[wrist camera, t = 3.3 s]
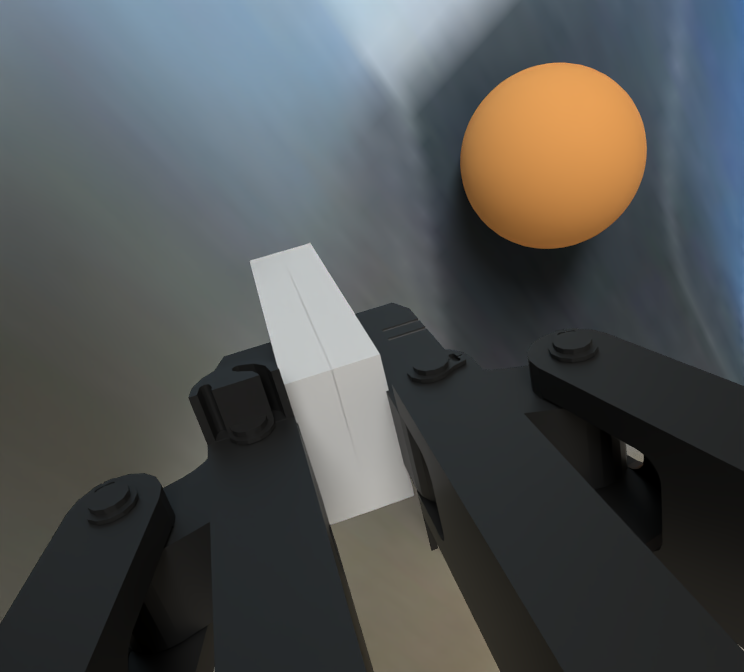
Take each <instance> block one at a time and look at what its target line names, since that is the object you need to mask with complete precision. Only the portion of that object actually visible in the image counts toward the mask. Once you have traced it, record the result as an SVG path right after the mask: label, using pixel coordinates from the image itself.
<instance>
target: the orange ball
mask: <svg viewBox="0 0 744 672" xmlns="http://www.w3.org/2000/svg"><path fill="white" fill-rule="evenodd" d="M646 152H647V146H646V135H645V130H644V125H643V122H642V119H641V116H640V114H639V112H638V110H637V108H636V106H635V104H634V103H633V101H632V99H631V98H630V97H629V95H628V94H627V93H626V92H625V91H624V90H623V89H622V88H621V87H620V86H619V85H618V84H617V83H616V82H615V81H614V80H612V79H611V78H609V77H608V76H607V75H605V74H603V73H601V72H599V71H597V70H594V69H592V68H589V67H586V66H583V65H578V64H571V63H549V64H543V65H537V66H534V67H531V68H528V69H525V70H523V71H520V72H518V73H516V74H514V75H512V76H510V77H509V78H507V79H506V80H504V81H503V82H502V83H500V84H499V85H498V86H497V87H496V88H494V89H493V90H492V91H491V92H490V93H489V94H488V95H487V96H486V98H485V99H484V100H483V101H482V102H481V103H480V105H479V106H478V108H477V109H476V111H475V112H474V114H473V116H472V118H471V120H470V122H469V124H468V127H467V129H466V132H465V135H464V139H463V142H462V148H461V159H460V167H461V176H462V181H463V186H464V189H465V192H466V195H467V198H468V200H469V202H470V204H471V206H472V207H473V209H474V210H475V212H476V213H477V215H478V216H479V217H480V219H481V220H482V221H483V222H484V223H485V224H486V225H487V226H488V227H489V228H490V229H492V230H493V231H494V232H496V233H497V234H498V235H500V236H501V237H503V238H505V239H507V240H509V241H511V242H514V243H517V244H520V245H522V246H527V247H532V248H539V249H553V248H562V247H567V246H571V245H575V244H578V243H580V242H583V241H585V240H588V239H590V238H592V237H594V236H596V235H597V234H599V233H600V232H602V231H603V230H605V229H606V228H607V227H608V226H610V225H611V224H612V223H613V222H614V221H615V220H616V219H617V218H618V217H619V216H620V215H621V214H622V213H623V212H624V211H625V209H626V208H627V207H628V205H629V204H630V202H631V201H632V199H633V197H634V196H635V194H636V192H637V190H638V188H639V185H640V182H641V180H642V177H643V173H644V169H645V163H646Z"/></svg>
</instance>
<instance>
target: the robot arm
mask: <svg viewBox="0 0 744 672" xmlns="http://www.w3.org/2000/svg"><path fill="white" fill-rule="evenodd" d="M250 264H251V268H252V272H253V276H254V279H255V283H256V287H257V291H258V295H259V298H260V302H261V306H262V310H263V314H264V317H265V321H266V325H267V329H268V333H269V336H270V340H271V342H270V343H266V344H263V345H260V346H257V347H253V348H250V349H247V350H244V351H241V352H237V353H234V354H231V355H228V356H224V357H223V359H222V360H221V362H220V363H219V365H218V366H217V368H216V369H215V371H214V372H212V373H210V374H209V375H207V376H205V377H204V378H202V379H201V380H200V381H199V382H198V383H197V384H196V385H195V386H194V387H193V388H192V390H191V392H190V395H189V397H188V398H189V400H190V403H191V405H192V408H193V410H194V413H195V415H196V417H197V420H198V422H199V425H200V427H201V430H202V432H203V435H204V437H205V440H206V442H207V444H208V459H207V460H206V461H205V462H204V463H203V464H202V465H200V466H199V467H198V468H197V469H196V470H194V471H193V472H191V473H189V474H188V475H186V476H185V477H183V478H181V479H179V480H178V481H176V482H174V483H172V484H170V485H168V486H166V487H165V488H163V487H162V485H161V484H160V482H159V481H158V479H157V478H156V477H155V476H151V475H148V474H145V473H141V474H128V475H125V476H122V477H118V478H113V479H110V480H108V481H106V482H104V484H100V485H98V486H96V487H95V488H93V489H92V490H91V491H90V492H88V493H87V494H86V495H85V496H83V497H82V498H81V499H79V500H78V501H77V502H76V503H75V505H74V506H73V507H72V508H71V509H70V511H69V512H68V513H67V514H66V516H65V517H64V519H63V521H62V522H61V524H60V526H59V527H58V529H57V531H56V532H55V534H54V536H53V537H52V539H51V541H50V542H49V544H48V546H47V547H46V549H45V551H44V552H43V554H42V556H41V557H40V559H39V561H38V562H37V564H36V566H35V567H34V569H33V571H32V572H31V574H30V576H29V577H28V579H27V581H26V582H25V584H24V586H23V587H22V589H21V590H20V592H19V594H18V595H17V597H16V599H15V600H14V602H13V604H12V605H11V607H10V609H9V610H8V612H7V614H6V615H5V617H4V619H3V620H2V622H1V624H0V672H213V671H214V667H215V672H374V671H373V668H372V664H371V661H370V657H369V654H368V651H367V647H366V644H365V640H364V637H363V634H362V630H361V627H360V623H359V620H358V617H357V613H356V610H355V606H354V603H353V599H352V596H351V593H350V589H349V586H348V582H347V579H346V576H345V572H344V569H343V565H342V562H341V559H340V555H339V552H338V548H337V545H336V542H335V539H334V536H333V533H332V530H331V527H330V525H333V524H335V523H338V522H341V521H344V520H347V519H350V518H352V517H355V516H358V515H361V514H364V513H367V512H369V511H372V510H375V509H378V508H381V507H384V506H386V505H389V504H392V503H395V502H398V501H401V500H403V499H406V498H409V497H412V496H414V492H413V488H412V484H411V480H410V477H411V479H412V481H413V483H414V485H415V487H416V489H417V492H418V496H419V500H420V504H421V509H422V513H423V517H424V521H425V525H426V530H427V534H428V538H429V542H430V546H431V550H435V549H438V546H439V548H440V550H441V552H442V554H443V556H444V559H445V561H446V563H447V565H448V567H449V569H450V571H451V573H452V575H453V577H454V579H455V581H456V583H457V585H458V587H459V589H460V591H461V593H462V595H463V597H464V599H465V601H466V603H467V605H468V607H469V609H470V611H471V613H472V615H473V617H474V619H475V621H476V623H477V625H478V627H479V629H480V631H481V633H482V635H483V637H484V639H485V641H486V643H487V645H488V647H489V649H490V651H491V654H492V656H493V658H494V660H495V662H496V664H497V666H498V668H499V670H500V672H744V651H743V650H742V649H741V648H740V647H739V646H741V647H742V648H743V649H744V386H742V385H739V384H737V383H734V382H732V381H729V380H726V379H724V378H721V377H719V376H716V375H714V374H711V373H708V372H706V371H703V370H701V369H698V368H695V367H693V366H690V365H688V364H685V363H682V362H680V361H677V360H675V359H672V358H670V357H667V356H664V355H662V354H659V353H657V352H654V351H651V350H649V349H646V348H644V347H641V346H638V345H636V344H633V343H631V342H628V341H625V340H623V339H620V338H618V337H615V336H613V335H610V334H607V333H604V332H600V331H596V330H592V329H577V328H569V329H566V330H564V329H563V330H558V331H555V332H553V333H551V334H548V335H545V336H542V337H541V338H539V339H538V340H536V341H535V342H533V343H532V344H531V346H530V348H529V350H528V351H527V355H528V363H529V365H528V366H521V367H514V368H507V369H496V370H483V369H482V368H481V367H480V366H479V365H478V364H477V363H476V361H475V360H474V359H473V358H472V357H470V356H468V355H467V354H465V353H464V352H460V351H455V350H450V349H448V350H445V349H444V348H443V347H442V346H441V345H440V343H439V342H438V341H437V340H436V339H435V338H434V336H433V335H432V334H431V333H430V332H429V331H428V330H427V329H426V328H425V326H424V325H423V324H422V323H421V321H420V320H418V318H417V317H416V316H415V315H414V313H413V312H412V311H411V310H410V309H409V308H406V307H403V306H401V305H398V304H395V303H390V304H386V305H383V306H380V307H377V308H373V309H370V310H367V311H364V312H360V313H357V314H354V312H353V310H352V309H351V307H350V306H349V304H348V303H347V301H346V299H345V298H344V296H343V295H342V293H341V291H340V290H339V288H338V287H337V285H336V283H335V282H334V280H333V279H332V277H331V275H330V274H329V272H328V271H327V269H326V268H325V266H324V264H323V263H322V261H321V260H320V258H319V256H318V255H317V253H316V252H315V250H314V248H313V247H312V245H311V244H310V243H309V244H306V245H302V246H299V247H295V248H292V249H288V250H285V251H282V252H278V253H275V254H271V255H268V256H264V257H261V258H257V259H254V260H251V261H250ZM626 444H628V445H630V446H632V447H634V448H635V449H637V450H638V451H640V452H641V453H642V454H644V461H643V463H642V462H640V461H637V460H635V459H633V458H632V457H630V456H628V455H627V451H626ZM409 475H410V476H409ZM437 544H438V545H437Z"/></svg>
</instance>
